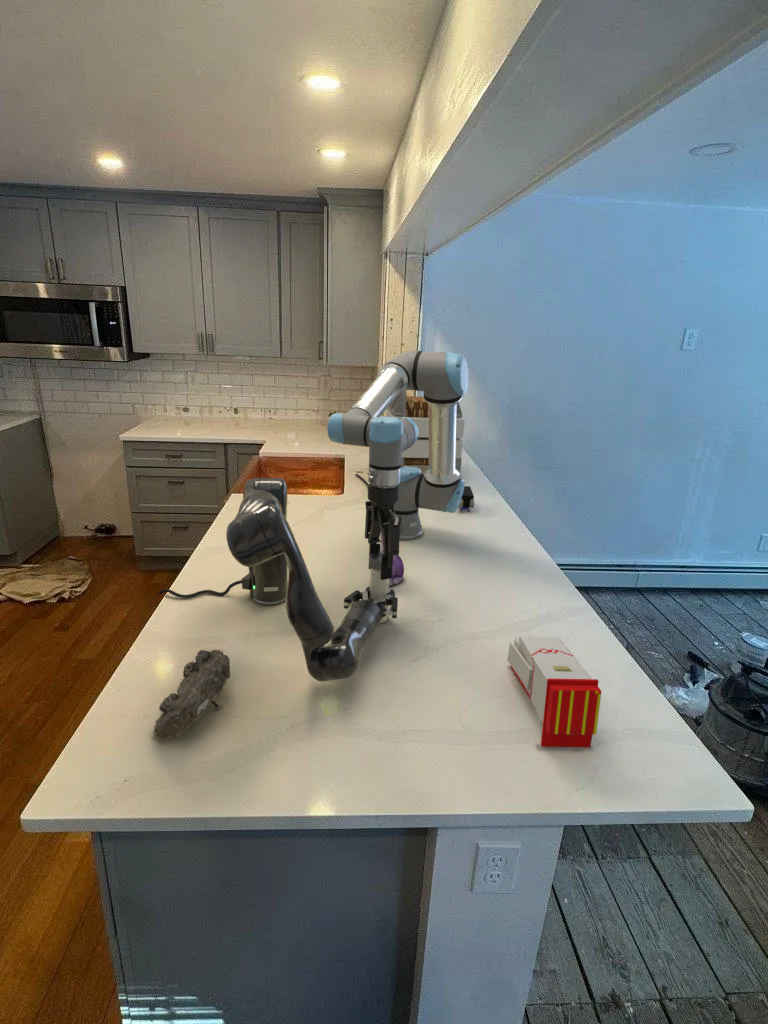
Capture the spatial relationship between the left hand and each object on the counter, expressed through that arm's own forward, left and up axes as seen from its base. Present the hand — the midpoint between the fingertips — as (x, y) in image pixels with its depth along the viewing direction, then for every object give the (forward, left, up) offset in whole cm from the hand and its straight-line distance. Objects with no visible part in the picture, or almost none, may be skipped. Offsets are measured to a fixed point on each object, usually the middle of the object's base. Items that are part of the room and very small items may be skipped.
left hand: (382, 590), depth 145 cm
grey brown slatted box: (-22, +134, -7) cm, 136 cm away
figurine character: (+6, +92, -7) cm, 93 cm away
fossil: (-23, -47, -7) cm, 53 cm away
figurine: (-3, +19, -7) cm, 20 cm away
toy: (+42, -22, -7) cm, 48 cm away
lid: (0, -3, +10) cm, 11 cm away
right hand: (0, -3, +6) cm, 7 cm away
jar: (0, -3, -7) cm, 7 cm away
